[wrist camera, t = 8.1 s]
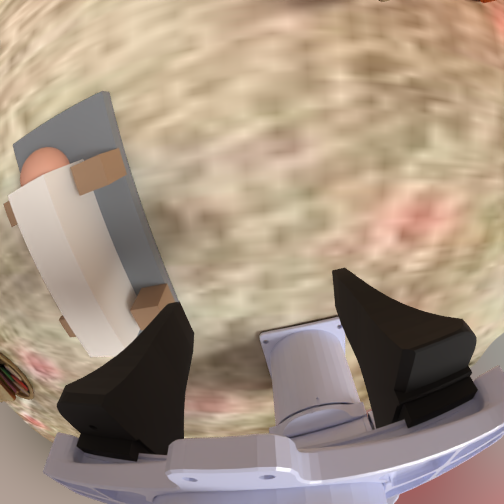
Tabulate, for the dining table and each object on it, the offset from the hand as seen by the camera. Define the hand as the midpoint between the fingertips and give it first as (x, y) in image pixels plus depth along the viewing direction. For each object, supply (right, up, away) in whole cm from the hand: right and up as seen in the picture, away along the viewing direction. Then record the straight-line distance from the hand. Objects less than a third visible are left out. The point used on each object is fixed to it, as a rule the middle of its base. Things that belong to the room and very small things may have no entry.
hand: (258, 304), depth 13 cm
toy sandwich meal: (-43, -19, +20) cm, 51 cm away
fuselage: (-13, +3, +7) cm, 15 cm away
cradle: (-13, +3, +9) cm, 16 cm away
